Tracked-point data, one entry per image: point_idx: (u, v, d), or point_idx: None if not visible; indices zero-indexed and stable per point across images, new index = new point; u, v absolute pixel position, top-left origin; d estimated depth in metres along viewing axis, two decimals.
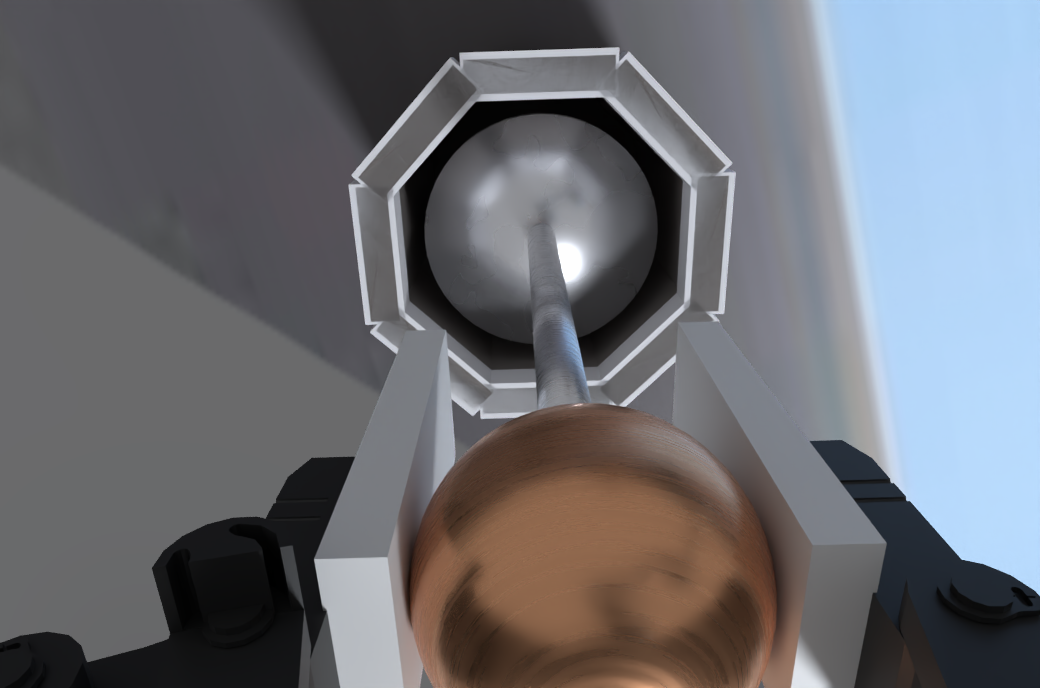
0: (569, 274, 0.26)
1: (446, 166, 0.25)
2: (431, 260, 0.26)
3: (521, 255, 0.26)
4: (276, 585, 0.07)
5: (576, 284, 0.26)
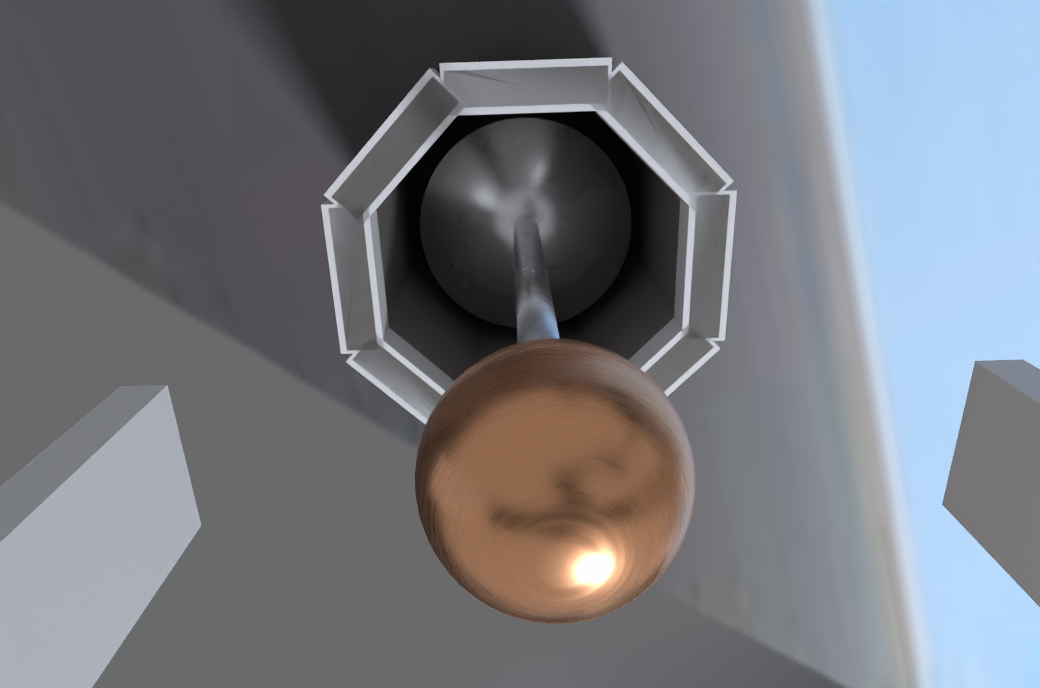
0: (552, 263, 0.29)
1: (439, 165, 0.27)
2: (426, 251, 0.28)
3: (508, 246, 0.28)
4: None
5: (558, 272, 0.29)
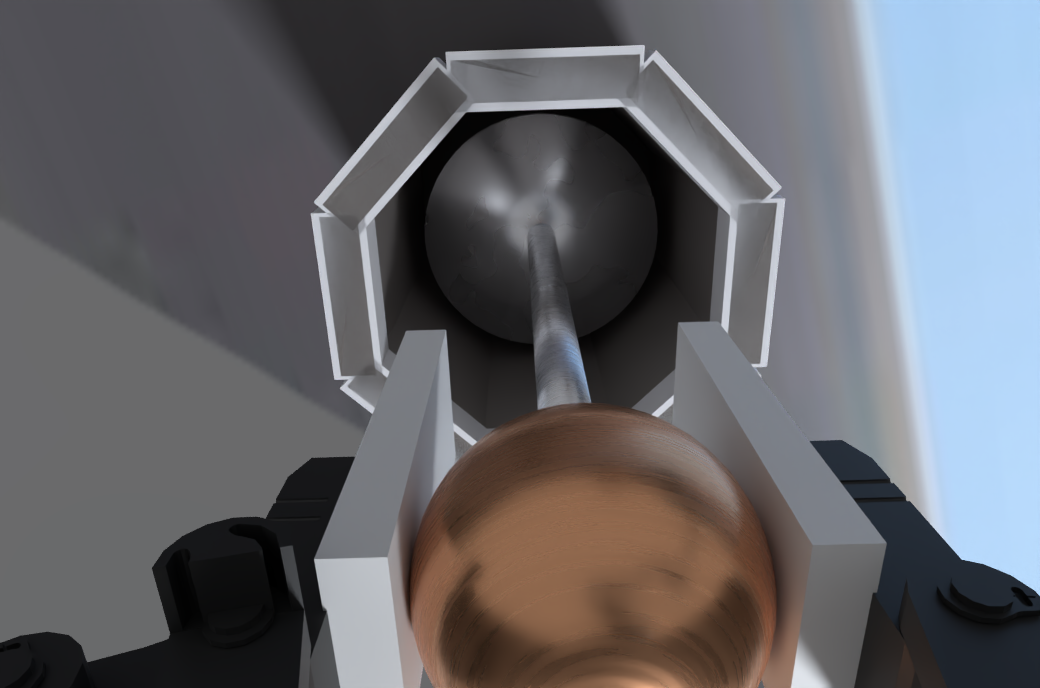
0: (569, 274, 0.26)
1: (446, 166, 0.25)
2: (431, 260, 0.26)
3: (521, 255, 0.26)
4: (276, 585, 0.07)
5: (576, 284, 0.26)
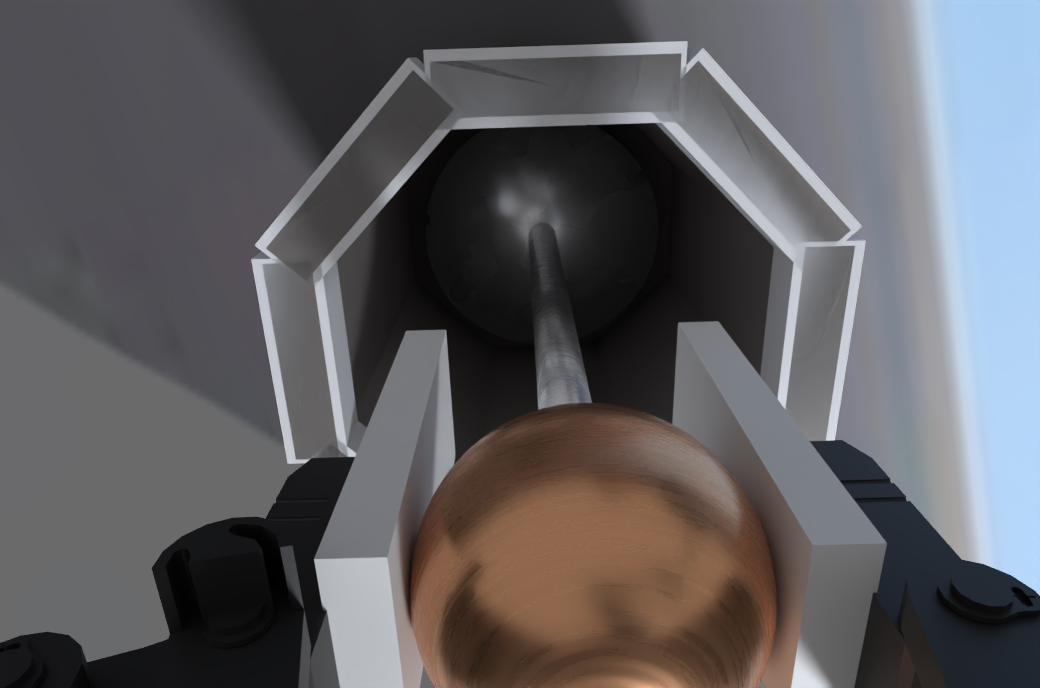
0: (570, 274, 0.26)
1: (447, 166, 0.25)
2: (432, 260, 0.26)
3: (522, 255, 0.26)
4: (276, 585, 0.07)
5: (577, 284, 0.26)
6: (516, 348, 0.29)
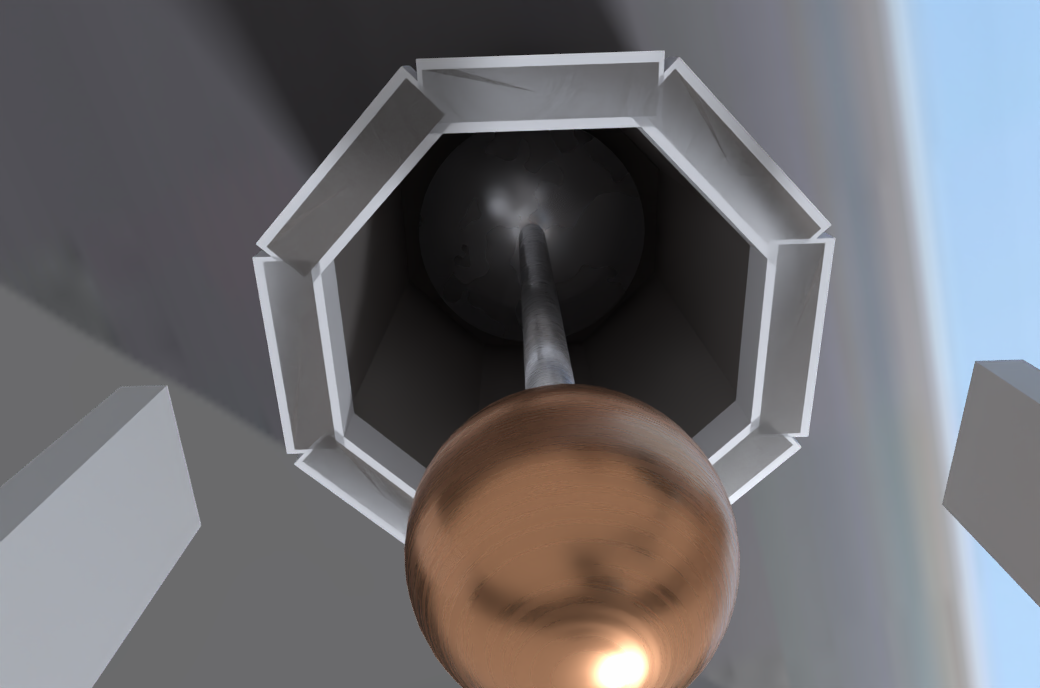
0: (559, 273, 0.27)
1: (440, 169, 0.25)
2: (425, 260, 0.27)
3: (513, 255, 0.27)
4: None
5: (566, 283, 0.27)
6: (508, 347, 0.30)
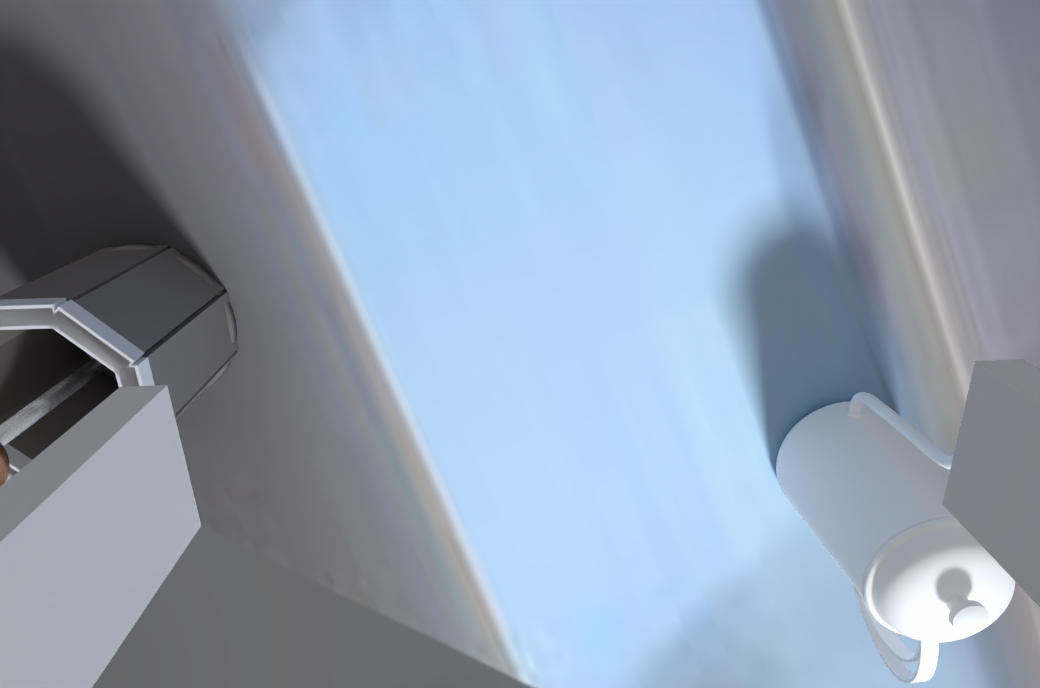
0: None
1: None
2: None
3: None
4: None
5: None
6: None
